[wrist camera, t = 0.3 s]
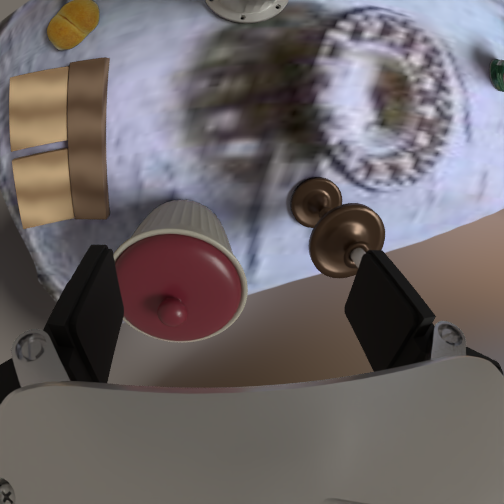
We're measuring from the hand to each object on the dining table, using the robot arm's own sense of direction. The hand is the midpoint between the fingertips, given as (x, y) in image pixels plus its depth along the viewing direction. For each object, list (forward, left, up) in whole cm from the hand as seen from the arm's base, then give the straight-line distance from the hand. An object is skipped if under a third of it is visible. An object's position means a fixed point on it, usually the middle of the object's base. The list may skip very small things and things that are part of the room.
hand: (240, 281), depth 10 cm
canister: (+17, -5, -36) cm, 40 cm away
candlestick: (+10, +17, -36) cm, 41 cm away
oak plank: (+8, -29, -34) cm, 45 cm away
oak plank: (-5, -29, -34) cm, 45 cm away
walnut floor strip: (+1, -21, -36) cm, 42 cm away
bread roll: (-19, -25, -36) cm, 48 cm away
